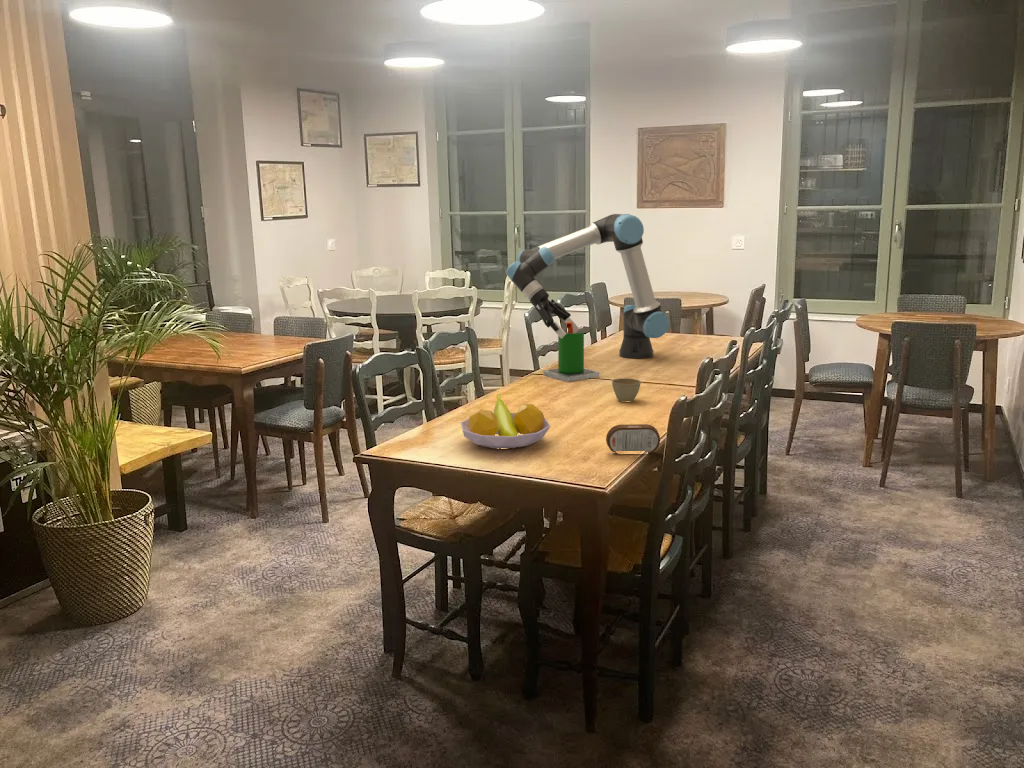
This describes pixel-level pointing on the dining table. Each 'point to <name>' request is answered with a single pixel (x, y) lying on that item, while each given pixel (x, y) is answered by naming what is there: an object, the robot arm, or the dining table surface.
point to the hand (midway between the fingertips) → (570, 333)
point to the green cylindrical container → (571, 351)
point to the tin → (633, 438)
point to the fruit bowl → (506, 426)
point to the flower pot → (626, 388)
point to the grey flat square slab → (571, 375)
